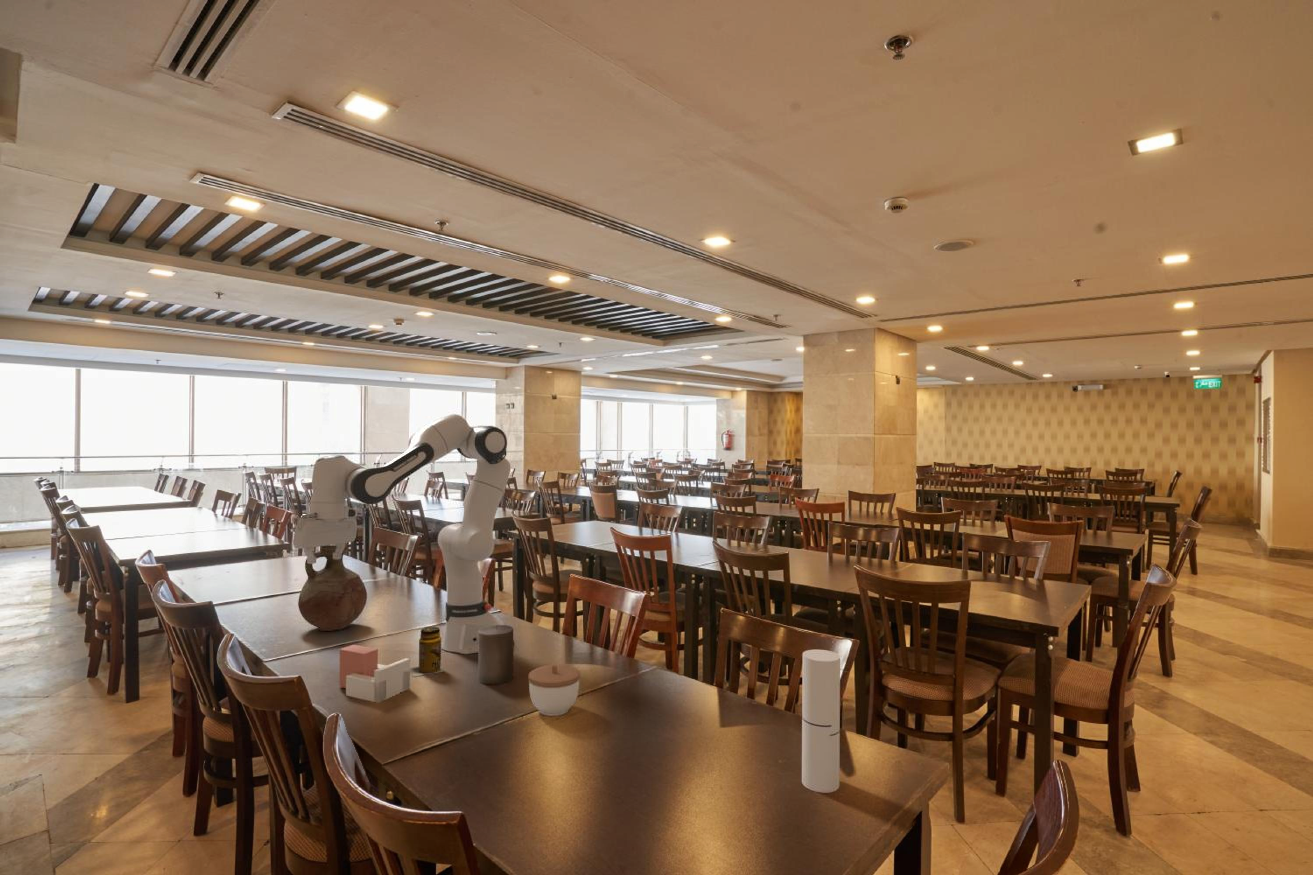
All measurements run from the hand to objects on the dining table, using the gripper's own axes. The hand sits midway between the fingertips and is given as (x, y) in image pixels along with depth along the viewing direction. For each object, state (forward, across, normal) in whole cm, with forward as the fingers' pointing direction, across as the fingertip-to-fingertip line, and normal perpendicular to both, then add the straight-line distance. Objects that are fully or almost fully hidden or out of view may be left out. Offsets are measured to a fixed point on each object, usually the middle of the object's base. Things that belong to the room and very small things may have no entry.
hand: (324, 561), depth 187 cm
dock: (+32, -5, -24) cm, 40 cm away
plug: (+32, -4, -17) cm, 36 cm away
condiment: (+31, +13, -26) cm, 43 cm away
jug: (+32, +40, +30) cm, 59 cm away
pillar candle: (+31, +13, -48) cm, 59 cm away
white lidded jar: (+31, -2, -73) cm, 80 cm away
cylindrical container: (+30, -19, -138) cm, 142 cm away
